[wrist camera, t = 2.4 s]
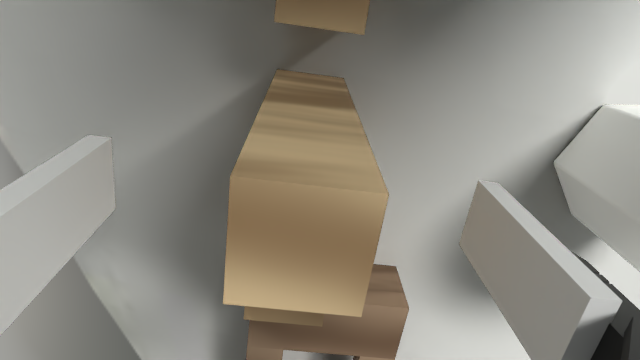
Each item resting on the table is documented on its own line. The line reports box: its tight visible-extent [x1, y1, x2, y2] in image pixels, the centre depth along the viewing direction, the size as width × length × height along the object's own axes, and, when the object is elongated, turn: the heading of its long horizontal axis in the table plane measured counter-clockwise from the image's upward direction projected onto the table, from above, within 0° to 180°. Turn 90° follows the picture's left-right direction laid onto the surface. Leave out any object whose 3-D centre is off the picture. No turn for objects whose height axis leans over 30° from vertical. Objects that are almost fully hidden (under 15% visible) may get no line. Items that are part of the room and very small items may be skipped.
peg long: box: [223, 69, 389, 317], centre depth 19 cm, size 4×4×16 cm
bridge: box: [246, 264, 409, 360], centre depth 31 cm, size 14×10×4 cm
